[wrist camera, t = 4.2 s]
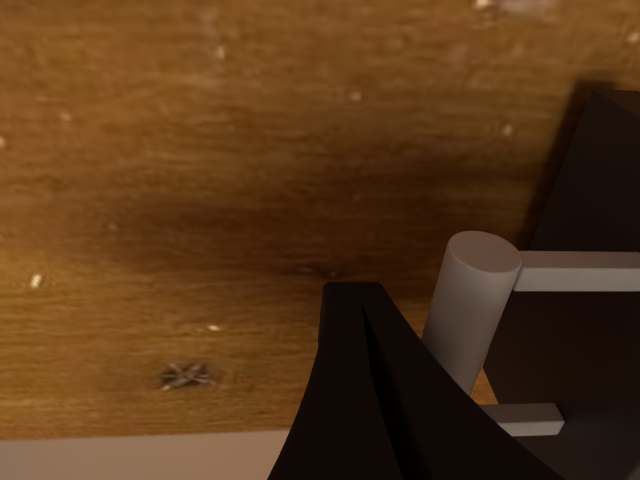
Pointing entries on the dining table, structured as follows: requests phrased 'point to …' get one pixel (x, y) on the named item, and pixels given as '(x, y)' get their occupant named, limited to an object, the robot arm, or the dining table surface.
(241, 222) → the dining table surface
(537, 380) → the drawer
